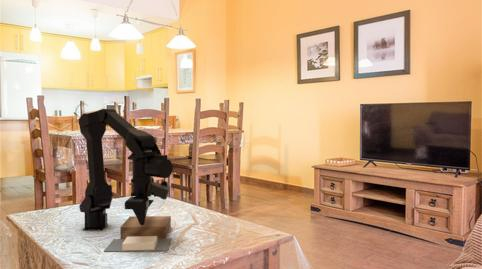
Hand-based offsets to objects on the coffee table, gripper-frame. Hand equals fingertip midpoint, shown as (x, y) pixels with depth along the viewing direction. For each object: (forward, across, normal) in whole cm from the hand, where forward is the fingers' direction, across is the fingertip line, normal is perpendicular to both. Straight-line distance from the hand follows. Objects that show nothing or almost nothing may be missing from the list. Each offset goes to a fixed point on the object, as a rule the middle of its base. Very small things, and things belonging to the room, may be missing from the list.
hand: (142, 224), depth 112 cm
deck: (+5, +7, 0) cm, 9 cm away
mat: (+5, -4, 0) cm, 6 cm away
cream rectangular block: (+3, -6, -1) cm, 6 cm away
